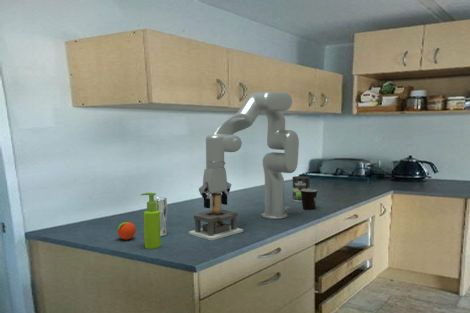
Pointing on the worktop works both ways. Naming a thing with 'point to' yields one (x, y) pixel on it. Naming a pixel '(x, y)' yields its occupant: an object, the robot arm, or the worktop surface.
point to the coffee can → (300, 186)
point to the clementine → (126, 230)
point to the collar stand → (209, 229)
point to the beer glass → (162, 214)
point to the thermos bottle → (216, 206)
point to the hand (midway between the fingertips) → (215, 206)
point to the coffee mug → (308, 199)
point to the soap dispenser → (151, 224)
